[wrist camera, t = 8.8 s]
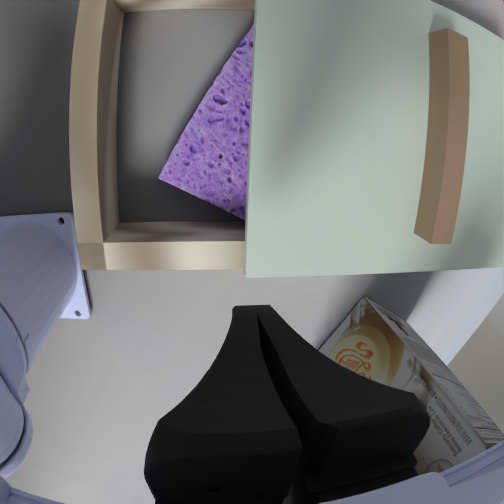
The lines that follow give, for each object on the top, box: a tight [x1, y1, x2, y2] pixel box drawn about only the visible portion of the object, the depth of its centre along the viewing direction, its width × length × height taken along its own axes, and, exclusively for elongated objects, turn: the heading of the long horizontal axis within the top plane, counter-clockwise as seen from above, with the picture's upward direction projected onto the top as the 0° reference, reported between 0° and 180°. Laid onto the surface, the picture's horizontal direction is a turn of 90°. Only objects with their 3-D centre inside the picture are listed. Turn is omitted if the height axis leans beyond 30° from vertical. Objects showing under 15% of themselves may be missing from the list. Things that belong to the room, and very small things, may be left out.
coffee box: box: [319, 297, 504, 475], centre depth 19 cm, size 9×6×16 cm
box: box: [69, 0, 255, 270], centre depth 17 cm, size 21×17×4 cm
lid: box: [244, 0, 504, 278], centre depth 15 cm, size 21×17×3 cm
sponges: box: [158, 24, 254, 221], centre depth 17 cm, size 7×13×2 cm, turn 149°
